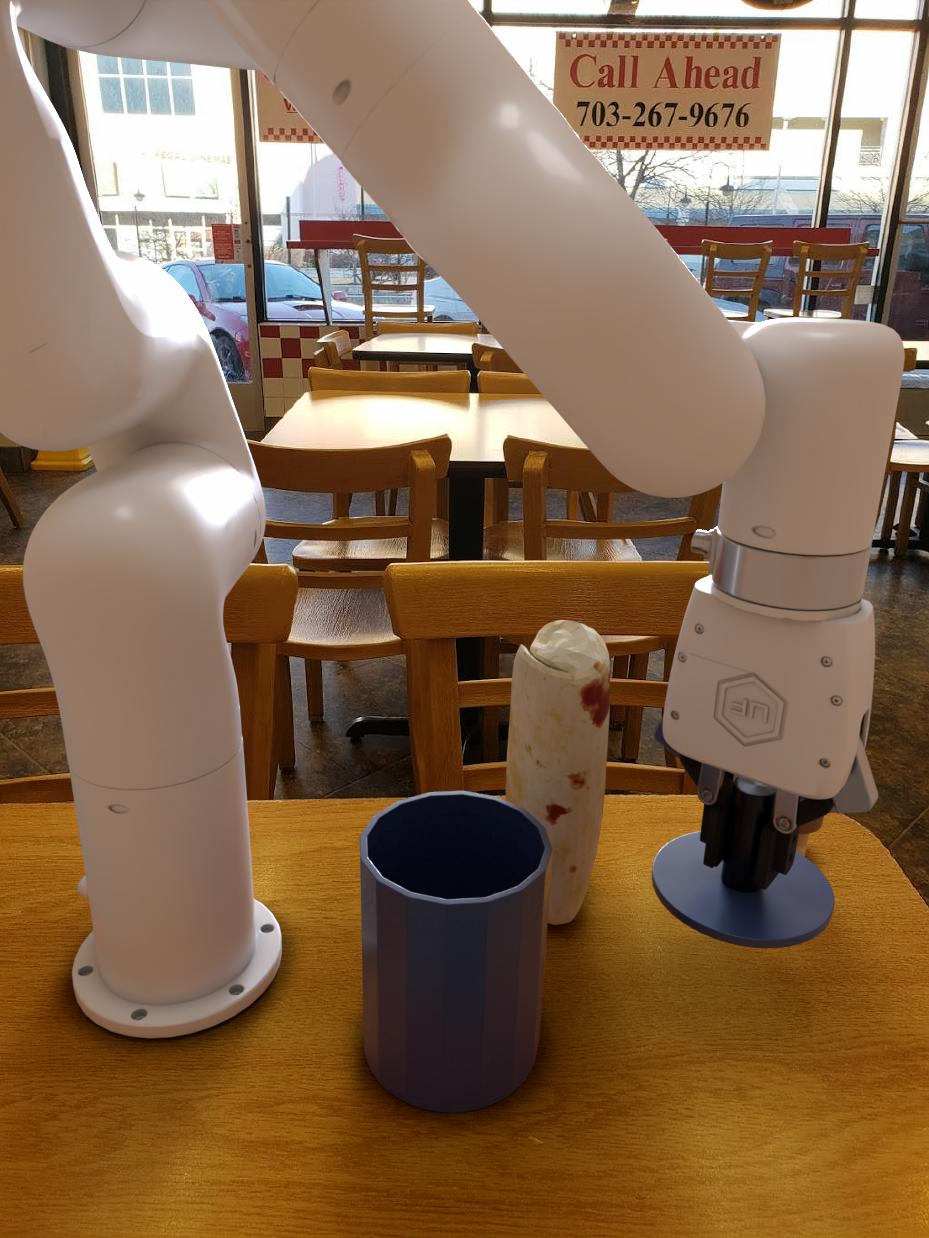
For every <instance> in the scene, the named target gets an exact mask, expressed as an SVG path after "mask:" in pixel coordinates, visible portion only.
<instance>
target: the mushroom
mask: <svg viewBox="0 0 929 1238" xmlns="http://www.w3.org/2000/svg"><path fill="white" fill-rule="evenodd" d="M824 819H825V816H823V817H820V818H818V819H816V820H813V821H811V822H809V823H806V824H804V825H802V826H800V830H799V836H798V841H797V847H796V852H798V853H800V854H801V855H803V856H804V857H806V852H807V846H808V841H809V835H810V834H812V833H815V832H817V831H819V830H820V829H821V828H822V827H823V824H824Z"/></svg>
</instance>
